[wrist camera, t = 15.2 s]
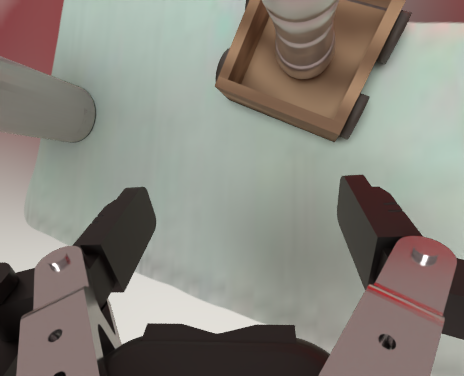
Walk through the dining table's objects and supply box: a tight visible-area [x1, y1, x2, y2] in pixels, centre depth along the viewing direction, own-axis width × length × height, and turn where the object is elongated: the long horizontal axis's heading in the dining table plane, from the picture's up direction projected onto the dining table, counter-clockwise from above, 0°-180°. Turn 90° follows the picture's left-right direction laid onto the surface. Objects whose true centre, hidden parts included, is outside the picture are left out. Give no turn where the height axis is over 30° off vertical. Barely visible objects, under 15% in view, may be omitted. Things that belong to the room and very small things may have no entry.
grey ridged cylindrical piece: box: [262, 0, 339, 79], centre depth 23 cm, size 6×7×20 cm
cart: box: [215, 0, 411, 142], centre depth 31 cm, size 20×17×6 cm
